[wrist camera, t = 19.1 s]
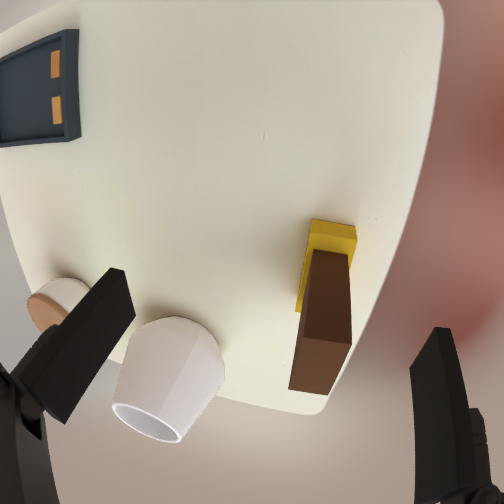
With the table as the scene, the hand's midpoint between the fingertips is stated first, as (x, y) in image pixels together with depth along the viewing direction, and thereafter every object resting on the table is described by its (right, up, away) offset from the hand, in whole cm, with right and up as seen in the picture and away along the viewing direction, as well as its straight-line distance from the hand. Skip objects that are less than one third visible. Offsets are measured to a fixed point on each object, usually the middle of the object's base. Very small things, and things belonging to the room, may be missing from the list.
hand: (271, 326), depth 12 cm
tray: (-27, +22, +13) cm, 37 cm away
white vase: (-10, -9, +28) cm, 31 cm away
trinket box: (-27, -3, +29) cm, 40 cm away
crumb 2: (-20, +18, +13) cm, 30 cm away
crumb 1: (-20, +22, +10) cm, 32 cm away
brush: (+6, +2, +17) cm, 18 cm away
